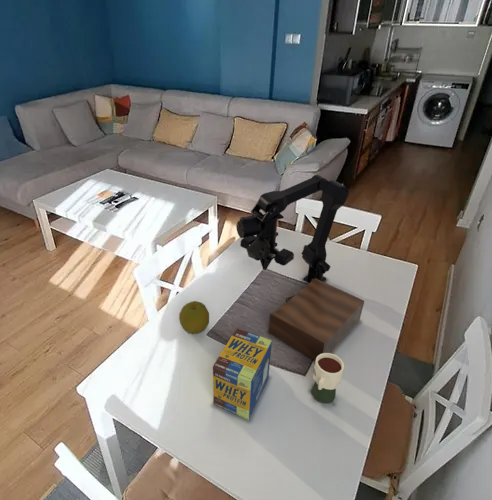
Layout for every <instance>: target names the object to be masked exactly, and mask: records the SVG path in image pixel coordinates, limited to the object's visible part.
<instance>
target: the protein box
mask: <svg viewBox="0 0 492 500" xmlns="http://www.w3.org/2000/svg"><path fill="white" fill-rule="evenodd" d="M272 345H273V340H272V339H269V338H267V337H264V336H261V335H258V334H255V333H253V332H250V331H247V330H244V329H241V328H239V327H236V329H235V330H234V332H233V334H232V335H231V336H230V338H229V339H228V341H227V343H226V345H225V346H224V348H223V349H222V351H221V352H220V354H219V356H218V357H217V358H216V361H214V364H213V365H212V394H213V405H214V406H217V407H219V408H220V409H223V410H226V411H228V412H230V413H231V414H234V415H235V416H238V417H241V418H243V419H245V420H250V418H251V415H252V413H253V412H254V409H255V407H256V405H257V403H258V401H259V398H260V397H261V395H262V394H263V393H262V392H263V391H264V388H265V386H266V384H267V382H268V380H269V375H270V364H271V354H272Z"/></svg>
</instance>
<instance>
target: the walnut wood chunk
mask: <svg viewBox="0 0 492 500" xmlns="http://www.w3.org/2000/svg"><path fill="white" fill-rule="evenodd" d="M294 295H295V296H294ZM294 295H293V296H294V297H292V298H291V299H290V300H289V301H288V302H287V303H286V302H285V303H284V304H283V305H281V306H280V307H279V308H278V309H277V310H276V311H275V312H271V313H270V314H269V324H268V334H270V335H271V336H273V337H275V338H276V339H278V340H280V341H281V342H283V343H285V344H286V345H288V346H290V347H291V348H293V349H294V350H295V351H297V352H299V353H301V354H303V355H304V356H306V357H308V358H309V359H311V360H313V361H314V362H315V361H316V358H317V356H318V355H320V354H323V353H331V354H332V352H333V351H334V350H335V349H336V348H337V347H338V346H339V344H341V342H342V341H343V340H344V339H345V338H346V337H347V336H348V335H349V333H350V332H351V331H352V330H353V329H354V328H355V327H356V325H357V324H359V322H360V321H361V316H362V312H363V308H364V304H365V300H364V299H361V298H359V297H357V296H355V295H353V294H351V293H348V292H346V291H344V290H342V289H340V288H338V287H335V286H333V285H331V284H329V283H328V282H327V283H326V282H325V281H324V282H323V281H320V280H318V279H316V278H315V279H312V280H311V282H310V283H309V282H308V284H306V285H305V286H304V287H303V288H301V290H300V291H298V292H297V293H296V294H294Z"/></svg>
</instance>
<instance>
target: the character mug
mask: <svg viewBox="0 0 492 500" xmlns="http://www.w3.org/2000/svg"><path fill="white" fill-rule="evenodd" d="M344 370H345V364H344V361H343V360H342V359H341V357H339V356H338V355H337V354H334V353H332V352H331V353H323V354H320V355H318V356H317V358H316V361H314V367H313V372H312V378H313V381H314V383H313V385H312V388H311V391H310V392H311V396H312V398H313V399H314V400H315V401H317V402H319V403H322V404H331V403H333V402H334V401H335V400H336V395H337V389H338V388H339V386H340V385H341V383H342V379H343V375H344Z"/></svg>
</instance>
